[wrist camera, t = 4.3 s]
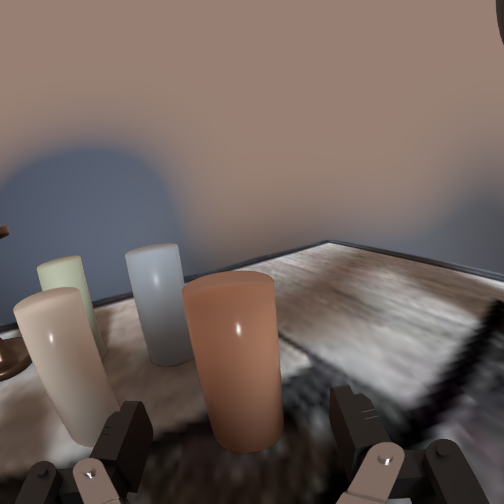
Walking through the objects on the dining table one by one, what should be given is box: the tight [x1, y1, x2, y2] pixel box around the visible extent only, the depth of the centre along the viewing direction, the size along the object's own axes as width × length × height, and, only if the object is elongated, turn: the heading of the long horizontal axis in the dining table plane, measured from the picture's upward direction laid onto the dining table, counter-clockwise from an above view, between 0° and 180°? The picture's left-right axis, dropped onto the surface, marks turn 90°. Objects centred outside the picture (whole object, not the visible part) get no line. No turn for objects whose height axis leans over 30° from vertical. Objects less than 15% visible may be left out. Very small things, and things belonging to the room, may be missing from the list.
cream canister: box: [13, 287, 121, 447], centre depth 17 cm, size 5×5×10 cm
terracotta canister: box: [182, 271, 284, 453], centre depth 17 cm, size 5×5×10 cm
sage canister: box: [37, 256, 107, 360], centre depth 27 cm, size 5×5×10 cm
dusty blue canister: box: [125, 243, 194, 366], centre depth 27 cm, size 5×5×10 cm
